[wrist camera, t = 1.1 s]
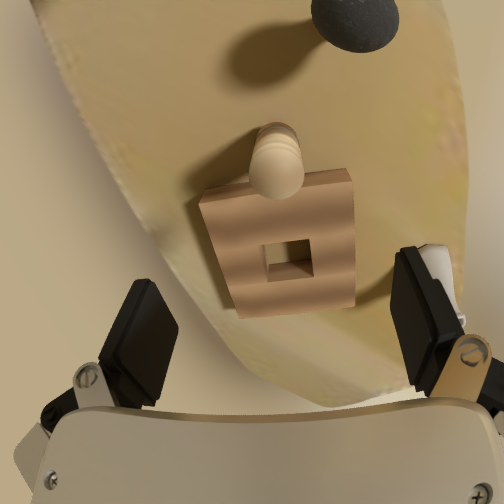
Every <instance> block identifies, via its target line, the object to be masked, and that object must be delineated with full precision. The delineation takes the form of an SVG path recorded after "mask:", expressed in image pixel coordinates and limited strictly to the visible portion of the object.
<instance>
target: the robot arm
mask: <svg viewBox="0 0 504 504" xmlns="http://www.w3.org/2000/svg"><path fill="white" fill-rule="evenodd" d="M390 311H391V315H392V318H393V322H394V325H395V329H396V332H397V336H398V339H399V343H400V347H401V350H402V354H403V358H404V362H405V366H406V370H407V374H408V379H409V383H410V385H415V389H416V392H420V391H424V393H425V396H427V397H428V398H419V399H412V400H405V401H398V402H393V403H387V404H380V405H374V406H366V407H358V408H350V409H342V410H334V411H323V412H312V413H298V414H279V415H205V414H185V413H172V412H161V411H151V410H141V408H142V405H144V406H153V407H154V406H155V403H156V400H158V399H159V398H160V395H161V391H162V388H163V384H164V381H165V377H166V373H167V370H168V366H169V362H170V359H171V356H172V352H173V349H174V345H175V342H176V339H177V335H178V325H177V323H176V321H175V319H174V317H173V316H172V314H171V312H170V310H169V308H168V307H167V305H166V303H165V301H164V299H163V297H162V296H161V294H160V292H159V290H158V288H157V286H156V284H155V283H154V282H152V281H151V280H150V279H138V280H135V281H134V282H133V284H132V286H131V288H130V290H129V292H128V294H127V297H126V299H125V300H124V303H123V305H122V307H121V309H120V311H119V313H118V315H117V317H116V319H115V321H114V323H113V326H112V328H111V330H110V332H109V334H108V336H107V339H106V341H105V343H104V346H103V348H102V350H101V352H100V354H99V357H98V359H99V360H100V361H99V363H98V364H97V363H94V362H89V363H86V364H83V365H82V366H81V367H80V368H79V369H78V370H77V371H76V373H75V375H74V377H73V387H72V388H71V389H69V390H68V391H66V392H65V393H63V394H62V395H60V396H59V397H57V398H56V399H54V400H53V401H51V402H50V403H49V404H48V405H46V406H45V408H44V409H43V411H42V413H41V418H40V419H41V423H38V422H37V423H36V424H35V426H34V427H33V428H32V429H31V430H30V431H29V433H28V434H27V435H26V436H25V437H24V438H23V439H22V441H21V442H20V443H19V444H18V445H17V447H16V449H15V451H14V460H15V463H16V465H17V467H18V469H19V470H20V472H21V474H22V476H23V478H24V479H25V481H26V483H27V484H28V486H29V488H30V489H31V491H32V492H33V496H32V501H31V504H504V451H503V447H502V443H501V440H500V436H499V435H502V436H503V437H504V363H503V362H500V361H499V360H497V359H495V358H493V357H492V351H491V347H490V345H489V343H488V342H487V341H486V340H485V339H484V338H483V337H481V336H479V335H476V334H467V335H465V333H464V331H463V328H462V326H461V324H460V321H459V319H458V317H457V315H456V312H455V310H454V308H453V306H452V304H451V302H450V299H449V297H448V295H447V293H446V291H445V289H444V287H443V285H442V283H441V281H440V280H439V279H433V278H432V276H431V274H430V272H429V270H428V268H427V266H426V264H425V262H424V261H423V259H422V257H421V255H420V253H419V251H418V249H417V248H416V246H411V247H404V248H401V249H400V252H397V253H396V255H395V265H394V275H393V284H392V292H391V300H390Z"/></svg>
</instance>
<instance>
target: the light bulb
mask: <svg viewBox="0 0 504 504" xmlns="http://www.w3.org/2000/svg"><path fill="white" fill-rule="evenodd" d="M311 14H312V19H313V21H314V24H315V26H316V28H317V29H318V31H319V32H320V34H321V35H322V36H323V37H324V38H325V39H326V40H327V41H328V42H330V43H331V44H333V45H334V46H336V47H338V48H341V49H343V50H346V51H350V52H355V53H368V52H372V51H375V50H378V49H381V48H383V47H384V46H386V45H387V44H388V43H389V42H390V41H391V40H392V39H393V38H394V36H395V34H396V33H397V30H398V26H399V13H398V9H397V6H396V4H395V2H394V0H312V4H311Z"/></svg>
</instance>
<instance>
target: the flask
mask: <svg viewBox="0 0 504 504" xmlns="http://www.w3.org/2000/svg"><path fill="white" fill-rule="evenodd" d="M418 251H419V253H420V255H421V257H422V259H423V261H424V262H425V264H426V266H427V268H428V270H429V272H430V274H431V276H432V278H433V279H439V280H440V281H441V283H442V285H443V287H444V289H445V291H446V293H447V295H448V297H449V299H450V302H451V304H452V306H453V308H454V310H455V312H456V315H457V317H458V319H459V321H460V324H461V326H462V328H463V327H464V325H465V324H466V320H465V315H464V314H461V313H460V311H459V309H458V306H457V304H456V300H455V296H454V288H453V278H452V267H451V261H450V257H449V253H448V249H447V246H441V245H429V244H428V245H426V246H424V247H422V248H420V249H418Z"/></svg>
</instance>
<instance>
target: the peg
mask: <svg viewBox="0 0 504 504" xmlns="http://www.w3.org/2000/svg"><path fill="white" fill-rule="evenodd" d="M249 180H250V183H251V185H252V187H253V189H254V190H255V191H256V192H257V193H258V194H260V195H261V196H263V197H265V198H268V199H273V200H281V199H285V198H288V197H290V196H292V195H294V194H295V193H296V192H297V191H298V190H299V189H300V188H301V186H302V184H303V181H304V168H303V163H302V158H301V153H300V146H299V141H298V139H297V136H296V133H295V132H294V130H293V129H292V128H291V127H290V126H288V125H286V124H284V123H280V122H273V123H269V124H267V125H265V126H263V127H262V128H261V129H260V131H259V132H258V134H257V137H256V139H255V143H254V150H253V154H252V159H251V163H250V168H249Z"/></svg>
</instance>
